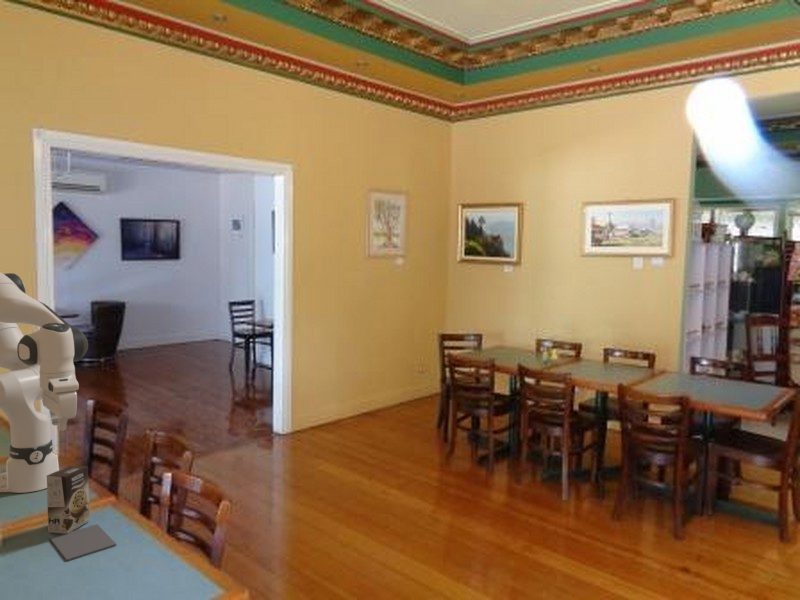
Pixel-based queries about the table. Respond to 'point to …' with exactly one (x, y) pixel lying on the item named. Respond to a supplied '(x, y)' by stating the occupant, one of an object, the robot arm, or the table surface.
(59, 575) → the table surface
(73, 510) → the coffee box
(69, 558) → the mat
